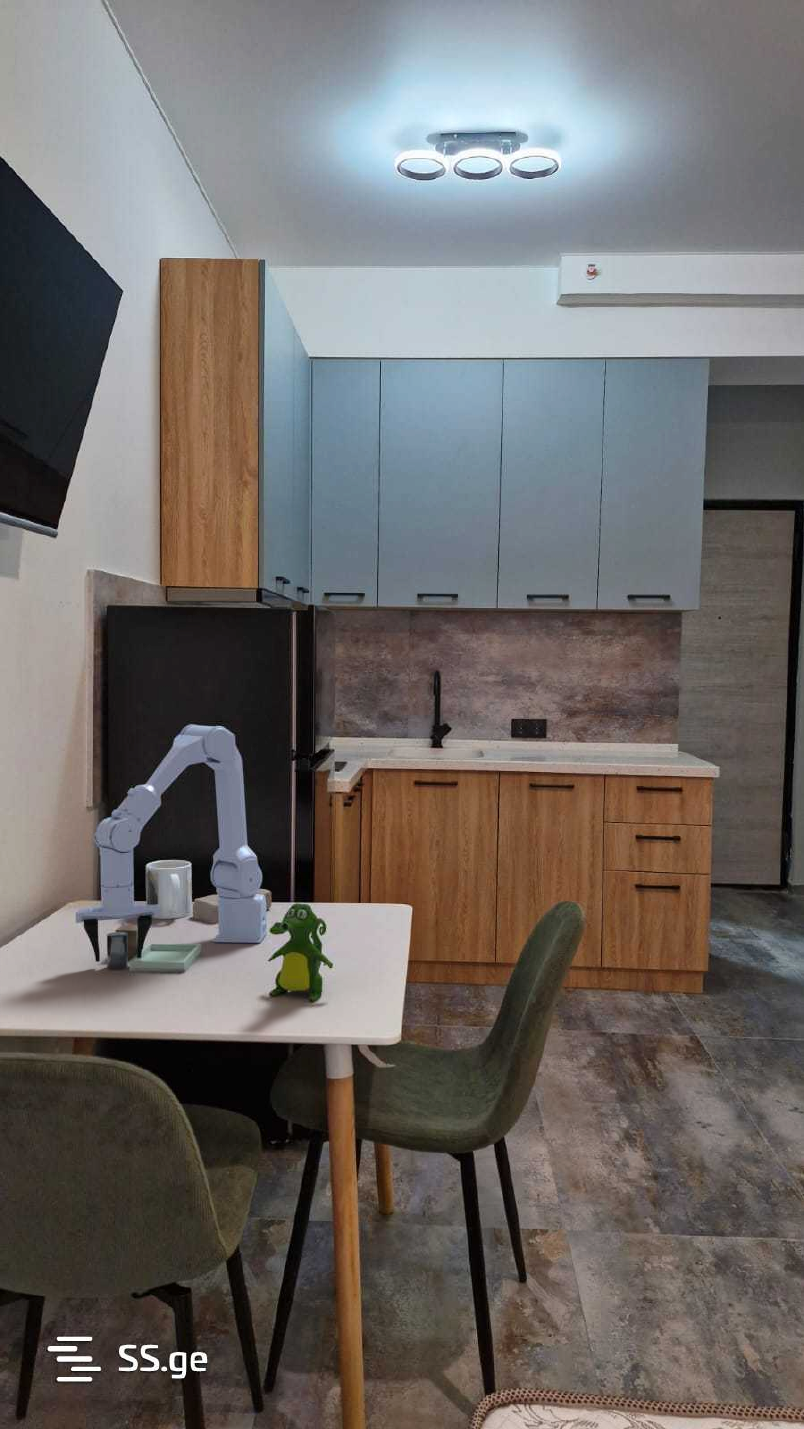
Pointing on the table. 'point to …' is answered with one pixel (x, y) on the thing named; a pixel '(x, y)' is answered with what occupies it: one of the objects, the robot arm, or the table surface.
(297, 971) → the toy
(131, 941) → the block
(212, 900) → the brick
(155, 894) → the mug
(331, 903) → the table surface
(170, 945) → the tray
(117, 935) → the peg
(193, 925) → the table surface
